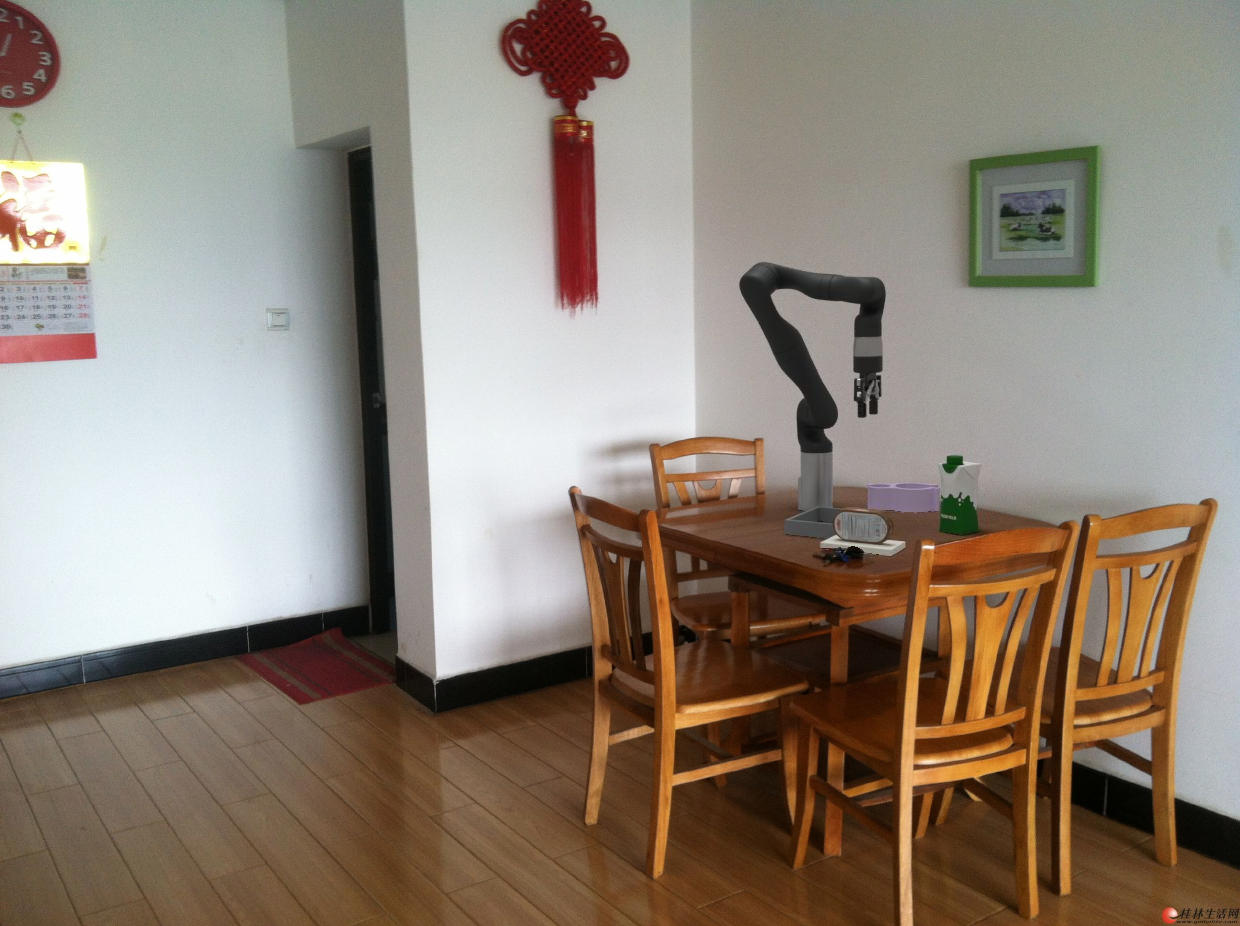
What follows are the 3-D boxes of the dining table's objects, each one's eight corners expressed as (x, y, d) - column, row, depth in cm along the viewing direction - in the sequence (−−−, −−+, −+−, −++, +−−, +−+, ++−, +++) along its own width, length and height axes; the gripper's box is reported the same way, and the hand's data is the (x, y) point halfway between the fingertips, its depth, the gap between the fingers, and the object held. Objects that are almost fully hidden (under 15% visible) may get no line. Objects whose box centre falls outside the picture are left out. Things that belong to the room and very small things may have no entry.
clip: (867, 512, 307) (867, 489, 306) (867, 505, 319) (867, 482, 318) (940, 513, 302) (940, 489, 301) (937, 505, 314) (937, 482, 313)
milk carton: (934, 531, 279) (934, 455, 276) (957, 526, 284) (958, 452, 281) (961, 536, 272) (962, 458, 269) (984, 531, 277) (986, 455, 274)
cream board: (820, 548, 263) (820, 542, 263) (836, 540, 271) (836, 534, 271) (891, 556, 253) (891, 549, 253) (905, 547, 261) (905, 541, 261)
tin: (894, 544, 259) (894, 509, 258) (889, 546, 257) (889, 512, 255) (835, 538, 268) (835, 505, 266) (830, 540, 265) (830, 507, 264)
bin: (784, 534, 280) (784, 519, 279) (817, 520, 297) (817, 506, 297) (838, 540, 272) (838, 525, 271) (868, 525, 289) (869, 510, 288)
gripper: (872, 355, 271) (872, 419, 274) (891, 352, 283) (890, 413, 285) (844, 355, 275) (844, 418, 278) (863, 352, 287) (863, 412, 289)
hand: (867, 416), depth 281 cm, fingers open, 8 cm apart
